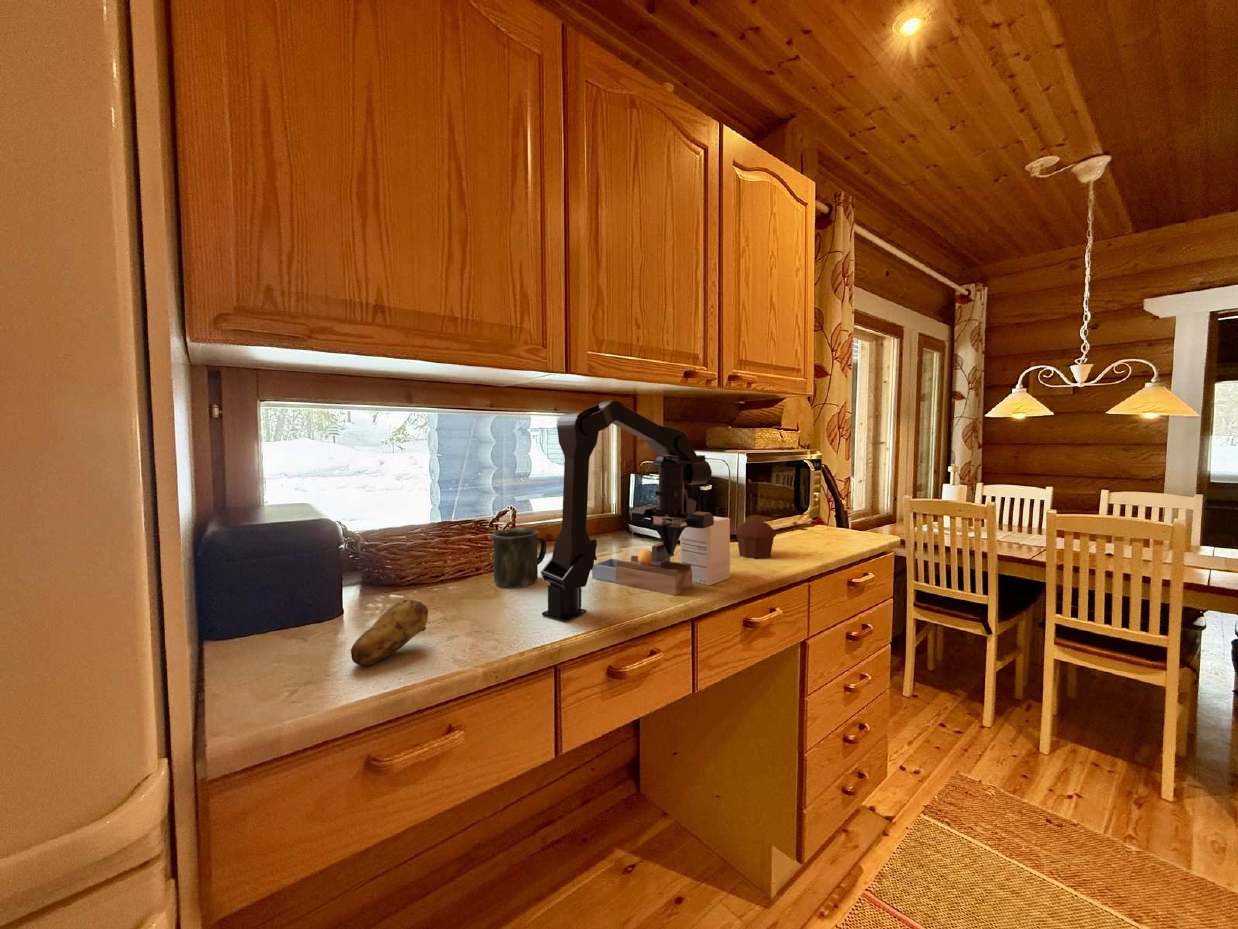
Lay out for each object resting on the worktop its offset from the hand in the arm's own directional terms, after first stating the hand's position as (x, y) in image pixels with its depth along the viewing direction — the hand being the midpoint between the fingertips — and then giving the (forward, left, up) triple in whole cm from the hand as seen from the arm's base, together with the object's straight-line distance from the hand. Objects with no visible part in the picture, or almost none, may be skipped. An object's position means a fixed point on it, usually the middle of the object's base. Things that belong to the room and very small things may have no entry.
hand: (670, 554), depth 119 cm
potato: (-57, +20, -8) cm, 61 cm away
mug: (-15, +33, -8) cm, 37 cm away
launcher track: (0, +5, -8) cm, 9 cm away
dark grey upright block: (0, +3, -4) cm, 5 cm away
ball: (0, +7, -2) cm, 7 cm away
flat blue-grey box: (0, +16, -8) cm, 18 cm away
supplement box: (+12, -3, -8) cm, 15 cm away
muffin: (+42, -4, -8) cm, 43 cm away
